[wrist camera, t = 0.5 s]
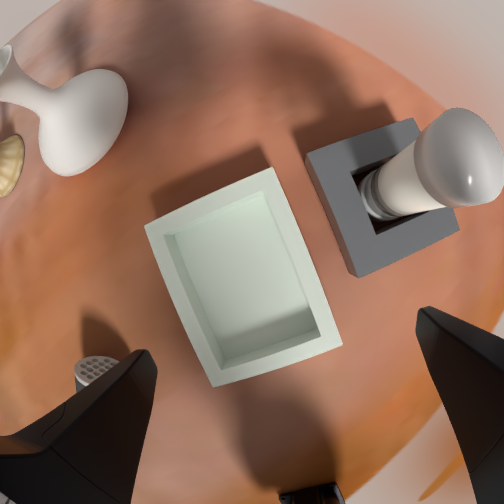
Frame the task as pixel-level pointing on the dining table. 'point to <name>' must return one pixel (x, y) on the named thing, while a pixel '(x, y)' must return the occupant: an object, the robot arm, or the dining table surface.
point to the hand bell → (10, 163)
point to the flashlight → (91, 369)
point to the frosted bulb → (438, 169)
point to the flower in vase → (69, 113)
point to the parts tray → (243, 280)
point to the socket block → (352, 207)
